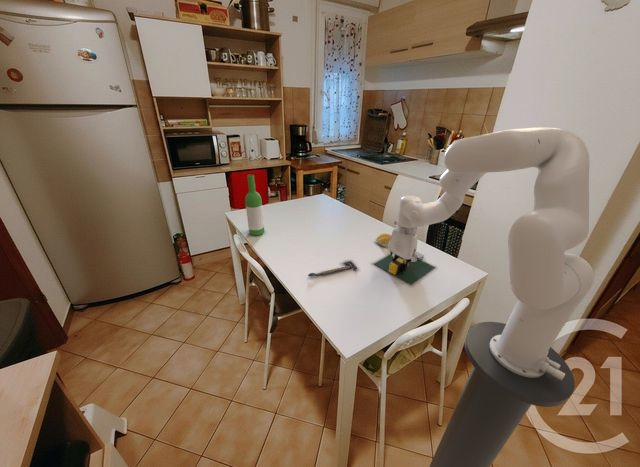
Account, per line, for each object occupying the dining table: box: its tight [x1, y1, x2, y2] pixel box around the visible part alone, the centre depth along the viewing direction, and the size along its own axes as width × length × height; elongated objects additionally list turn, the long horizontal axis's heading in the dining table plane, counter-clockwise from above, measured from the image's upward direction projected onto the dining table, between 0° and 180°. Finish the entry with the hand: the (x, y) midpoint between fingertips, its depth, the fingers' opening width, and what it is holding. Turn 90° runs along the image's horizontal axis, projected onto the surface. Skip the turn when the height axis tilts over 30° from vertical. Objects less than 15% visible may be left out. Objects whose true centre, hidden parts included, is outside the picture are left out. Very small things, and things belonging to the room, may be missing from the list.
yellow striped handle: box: [388, 251, 425, 276], centre depth 110 cm, size 4×21×4 cm, turn 131°
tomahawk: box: [307, 260, 358, 277], centre depth 107 cm, size 21×7×1 cm, turn 110°
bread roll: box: [376, 233, 391, 248], centre depth 127 cm, size 8×9×4 cm
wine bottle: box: [244, 174, 265, 236], centre depth 128 cm, size 8×8×30 cm
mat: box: [373, 253, 435, 286], centre depth 111 cm, size 18×18×1 cm
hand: (398, 267), depth 108 cm, fingers closed on yellow striped handle, 3 cm apart
